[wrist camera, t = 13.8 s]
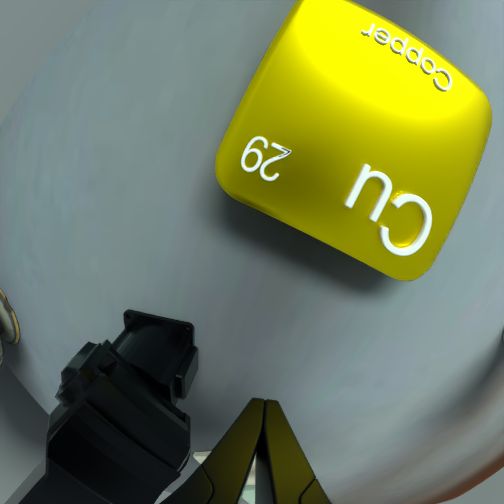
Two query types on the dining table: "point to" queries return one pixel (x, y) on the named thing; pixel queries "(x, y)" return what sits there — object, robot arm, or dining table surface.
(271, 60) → the element tile
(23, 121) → the dining table surface
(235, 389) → the dining table surface
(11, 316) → the apothecary jar
